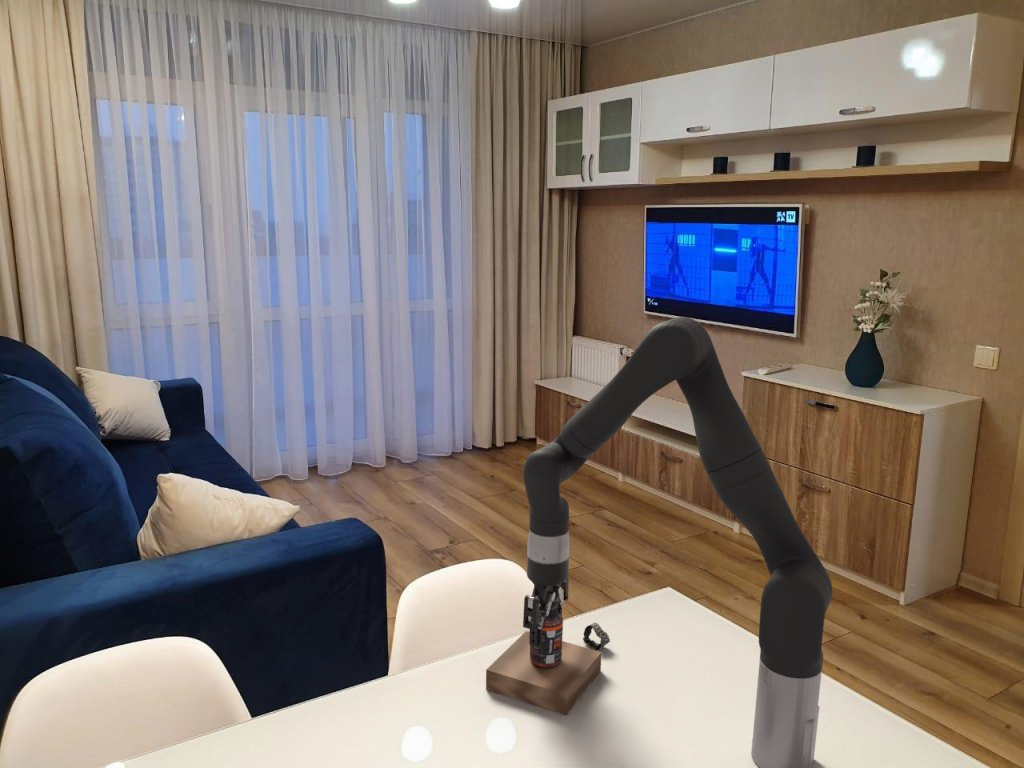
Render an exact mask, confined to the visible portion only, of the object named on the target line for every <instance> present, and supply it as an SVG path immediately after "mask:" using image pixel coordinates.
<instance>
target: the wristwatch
mask: <svg viewBox="0 0 1024 768" xmlns="http://www.w3.org/2000/svg"><path fill="white" fill-rule="evenodd" d="M592 630H593V631H594V633H595V634H596V637H598V638H599V639H600V641H599V642H600V643H599V642H596V641H595V640H592V639H591V638H590V635H591V634H592ZM582 640H583V643H584V644H585V645H586V646H588V648H589V649H593V650H596V651H599V650H601V649H602V648H603V647H605V646H606V645H608V644H609V643H610V642H611V639H610V636H609V635H608V632H606V631H604V630H603V629H602V626H600V624H599V623H597V622H593V623H591V624H589V625H586V627H584V632H583V638H582Z"/></svg>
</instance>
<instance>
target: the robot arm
mask: <svg viewBox="0 0 1024 768" xmlns="http://www.w3.org/2000/svg"><path fill="white" fill-rule="evenodd" d="M674 381H676V383H677V384H678V387H679V389H680V391H681V392H682V394H683V396H684V398H685V399H686V403H687V404H688V406H689V410H690V413H691V416H692V421H693V427H694V428H693V429H694V433H695V437H696V438H695V439H696V443H697V448H698V452H699V457H700V461H701V463H702V466H703V467H704V470H705V472H706V474H707V476H708V479H709V480H710V482H711V485H712V487H713V488H714V490H715V492H716V495H717V496H718V498H719V499H720V501H721V502H722V504H723V505H724V506H725V507H726V509H727V510H728V511H729V512H730V513H731V514H732V515H733V516H734V517H735V519H736V520H737V521H739V523H741V525H742V526H744V528H745V529H746V531H748V532H749V534H750V535H751V536H752V538H753V539H754V541H755V543H756V545H757V546H758V549H759V551H760V553H761V555H762V557H763V559H764V562H765V564H766V567H767V569H768V573H769V575H770V577H769V579H768V580H767V581H766V584H765V586H764V587H763V590H762V594H761V601H760V611H759V625H758V626H759V628H758V629H759V630H758V646H759V650H760V652H759V653H760V654H759V663H758V672H757V673H758V676H757V688H756V696H755V697H756V699H755V709H754V718H753V719H754V720H753V729H752V740H751V758H752V760H753V762H754V763H755V764H756V766H758V767H759V768H812V767H813V763H814V759H815V751H816V741H817V732H818V731H817V730H818V723H819V713H820V706H819V699H820V691H821V690H820V689H821V683H822V681H821V680H822V671H823V663H824V652H823V649H822V645H823V635H824V625H825V618H826V613H827V610H828V609H829V605H830V603H831V600H832V597H833V585H832V580H831V578H830V576H829V573H828V571H827V570H826V568H825V566H824V565H823V563H822V562H821V560H820V559H819V557H818V555H817V554H816V553H815V551H814V549H813V548H812V547H811V545H810V543H809V542H808V540H807V538H806V536H805V535H804V533H803V532H802V530H801V528H800V526H799V525H798V523H797V521H796V519H795V517H794V514H793V512H792V510H791V507H790V505H789V503H788V501H787V498H786V497H785V495H784V492H783V490H782V489H781V486H780V484H779V482H778V479H777V478H776V476H775V473H774V472H773V469H772V467H771V465H770V462H769V461H768V458H767V456H766V455H765V452H764V450H763V449H762V447H761V445H760V442H759V441H758V439H757V437H756V435H755V434H754V431H753V430H752V428H751V426H750V424H749V422H748V420H747V418H746V416H745V414H744V412H743V411H742V410H743V409H741V407H740V405H739V403H738V402H737V400H736V398H735V396H734V394H733V392H732V390H731V388H730V385H729V383H728V382H727V381H728V380H727V379H726V376H725V373H724V370H723V368H722V365H721V362H720V360H719V357H718V355H717V351H716V349H715V346H714V344H713V341H712V339H711V336H710V334H709V333H708V331H707V329H706V328H705V327H704V326H703V325H702V324H701V323H700V322H698V321H697V320H695V319H694V318H690V317H686V316H685V317H684V316H679V317H678V316H677V317H675V318H671V319H668V320H664V321H661V322H660V323H656V324H655V325H654V326H653V327H651V328H650V329H649V330H648V332H647V333H646V334H645V336H644V338H643V339H642V340H641V342H640V343H639V344H638V346H637V347H636V348H635V350H634V351H633V353H632V354H631V356H630V357H628V359H627V361H626V362H625V364H624V365H622V367H621V369H620V370H619V371H618V372H617V373H616V374H615V375H614V377H612V379H610V380H609V381H608V382H607V384H606V385H605V386H604V387H602V388H601V389H600V391H598V392H597V393H596V394H595V395H594V396H593V397H592V398H591V399H590V400H589V401H587V402H586V404H584V405H583V406H582V407H581V408H580V409H579V410H578V411H577V412H575V414H574V415H573V416H571V418H569V420H568V421H567V422H565V424H564V426H563V427H562V428H561V432H560V434H559V435H558V436H557V437H556V438H554V439H553V440H552V441H551V442H549V443H548V444H547V445H545V446H543V447H540V448H539V449H536V450H535V451H532V452H531V453H530V454H529V455H528V456H527V458H526V460H525V463H524V465H523V474H522V475H523V483H524V489H525V492H526V497H527V501H528V505H529V523H528V524H529V526H528V527H529V529H528V536H527V546H526V547H527V555H526V577H527V579H529V581H531V583H532V584H533V585H534V586H533V589H532V593H531V595H528V594H526V595H525V596H524V602H523V618H522V619H523V621H522V627H523V628H525V629H529V632H530V635H529V644H530V645H531V646H534V647H537V648H539V647H541V645H542V626H543V623H544V619H545V618H546V617H548V615H549V611H550V608H551V605H553V604H554V603H555V602H557V603H558V612H559V613H560V614H561V615H562V616H563V608H564V606H565V602H566V601H568V599H569V575H570V574H569V573H570V571H569V569H570V568H569V567H570V564H569V563H570V535H569V533H570V532H569V529H570V528H569V527H570V525H569V523H570V505H569V503H568V502H569V501H567V499H566V498H564V497H563V496H561V495H560V486H561V485H560V484H562V483H564V482H566V481H567V480H569V479H570V478H572V476H574V475H575V474H576V472H578V471H579V470H580V469H581V468H582V467H583V465H584V464H585V463H586V462H587V461H588V459H590V457H591V456H592V455H594V453H596V452H597V451H598V450H599V449H600V448H602V447H603V446H604V445H605V444H606V443H607V442H608V441H609V440H610V439H611V438H613V437H614V436H615V435H616V434H617V432H619V430H620V429H621V428H622V427H623V426H624V425H625V424H626V422H627V421H628V420H629V419H630V417H631V416H632V415H633V413H634V412H635V411H636V410H637V409H638V408H639V407H640V406H641V405H642V404H643V403H644V402H645V401H647V399H649V398H650V397H651V396H653V395H654V394H656V393H657V392H658V391H660V390H661V389H663V388H665V387H666V386H668V385H670V383H673V382H674ZM562 590H563V591H562ZM539 608H543V609H544V610H543V611H540V610H539ZM539 615H540V619H539Z"/></svg>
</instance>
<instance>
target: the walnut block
mask: <svg viewBox="0 0 1024 768" xmlns="http://www.w3.org/2000/svg"><path fill="white" fill-rule="evenodd" d="M529 635H530V631H527V630H525V631H524V633H522V634H521V635H520V636H519V637H518V638H517V639H516V640H515V641H514V642H513V643H512V644H511V645H510V646H509V647H508V648H507V649H506V650H505V651H504V652H503V653H502V654H501V655H499V656H498V657H497V658H496V659H495V660H494V662H493V663H491V664H490V665H489V666H488V668H486V669H485V670H486V671H485V690H487V691H490V692H492V693H496V694H499V695H502V696H505V697H508V698H511V699H514V700H517V701H520V702H524V703H527V704H530V705H532V706H537V707H539V708H542V709H545V710H549V711H552V712H555V713H558V714H561V715H564V716H567V715H568V714H569V712H570V711H572V708H574V706H575V705H576V704H577V702H578V701H579V700H580V698H581V697H582V696H583V694H584V693H585V692H586V691H587V689H589V687H590V685H591V684H592V683H593V682H594V681H595V679H596V678H597V677H598V676H599V674H600V673H601V669H602V651H599V650H598V651H596V650H594V649H591V648H589V647H584V646H581V645H577V644H575V643H571V642H567V641H564V640H562V657H561V662H560V663H559V664H558V665H556V666H554V667H551V668H544V667H539V666H536V665H535V664H533V663H532V662H531V660H530V644H529Z"/></svg>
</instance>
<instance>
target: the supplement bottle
mask: <svg viewBox="0 0 1024 768" xmlns="http://www.w3.org/2000/svg"><path fill="white" fill-rule="evenodd" d="M539 610H540V611H543V610H544V609H543V608H539ZM539 619H540V615H539ZM563 629H564V619H563V614H562V615H561V614H560V613H559V612H558V603H557V602H555V603H554V604H553V605H551V608H550V611H549V615H548V617H546V618H545V619H544V623H543V626H542V645H541V647H539V648H537V647H534V646H531V645H530V660H531V662H532V663H533V664H535V665H536V666H539V667H544V668H551V667H554V666H556V665H558V664H559V663H560V662H561V657H562V641H563V636H564V635H563V634H564V633H563Z"/></svg>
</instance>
